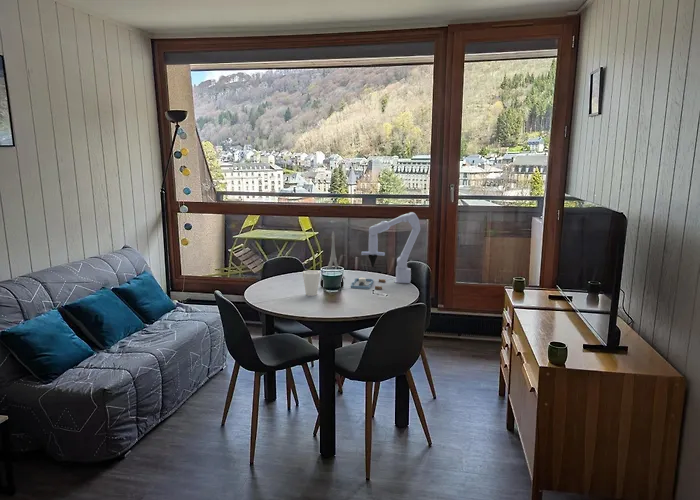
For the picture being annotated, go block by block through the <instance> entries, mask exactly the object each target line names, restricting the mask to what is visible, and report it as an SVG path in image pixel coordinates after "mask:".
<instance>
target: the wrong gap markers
mask: <svg viewBox="0 0 700 500" xmlns="http://www.w3.org/2000/svg"><path fill="white" fill-rule="evenodd" d="M378 283H386V279H384V278H383V279H382V278H379V279H378ZM374 290H380V291H382V290H383V286H382V285H380V286H379V285H375V286H374Z"/></svg>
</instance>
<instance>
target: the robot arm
mask: <svg viewBox="0 0 700 500" xmlns="http://www.w3.org/2000/svg"><path fill="white" fill-rule="evenodd" d="M407 222H408V223H409V225H410V226H411V228H412V229H411V231H410V233H409V236H408V238H407V240H406V243H405V245H404V247H403V249H402V251H401V253H400V255H399V256H398V257H397V258H396V267H395V280H394V283H395V284H396V283H399V284H411V280H412V276H411V275H412V270H411V269H412V268H410V267H408V260H409V257H410V254H411V252H412V250H413V248H414V244H415V243H416V241H417V239H418V236H419V234H420V232H421V224H420V218H419V217H418V215H417V214H416V213H415V212H413V211H410V212H408V213H405V214H401V215H399V216H398V217H395V218H393V219H391V220H389V221H387V220H381V222H379V223H377V224H376V223H375V224H374V225H372V226H369V228H368V251H361V254H360V255H361V256H368V259H369V261H370V265H371V268H374V267H375V264H376V260H377V259H378V256H383V257H384V256H385V255H386V252H384V251H383V252H382V251H379V249H378V247H379V246H378V245H379V243H378V242H379V238H378V234H381V233H383V232H386V231H388V230H389V229H390V227H392V226H395V225H396V224H399V223H407Z"/></svg>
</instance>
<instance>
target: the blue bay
mask: <svg viewBox="0 0 700 500" xmlns="http://www.w3.org/2000/svg"><path fill="white" fill-rule="evenodd" d="M359 278H360V277H359ZM359 278H358V277H357V278H354V280H353V281H352V282H351V285H350V289H364V290H367V289H368V290H371V289H370V288H371V287H372V285H373V283H374V281H375V280H374V278H366V282H369V283H368V285H365V286H359V285H355V284H356V283H357V282H359Z"/></svg>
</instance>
